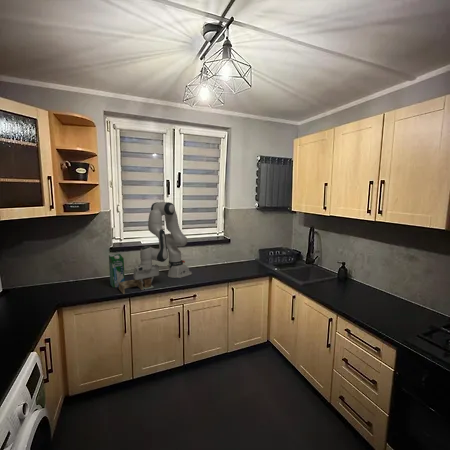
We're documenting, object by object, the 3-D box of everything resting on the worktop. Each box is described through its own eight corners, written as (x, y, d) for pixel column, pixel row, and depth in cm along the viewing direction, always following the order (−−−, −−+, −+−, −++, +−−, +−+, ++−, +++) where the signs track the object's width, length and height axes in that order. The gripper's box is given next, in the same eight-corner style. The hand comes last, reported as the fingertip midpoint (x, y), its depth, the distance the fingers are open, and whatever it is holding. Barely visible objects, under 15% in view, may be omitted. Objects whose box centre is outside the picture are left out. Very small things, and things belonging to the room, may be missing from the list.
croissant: (137, 285, 211) (137, 278, 210) (142, 289, 201) (142, 282, 201) (118, 289, 202) (118, 282, 201) (123, 293, 192) (123, 286, 192)
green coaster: (149, 284, 212) (149, 284, 212) (153, 287, 206) (153, 286, 206) (140, 286, 207) (140, 286, 207) (144, 289, 201) (144, 289, 201)
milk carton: (113, 287, 205) (111, 257, 202) (110, 284, 212) (108, 255, 209) (124, 285, 211) (123, 255, 208) (121, 282, 218) (120, 253, 215)
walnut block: (148, 285, 210) (148, 277, 209) (151, 286, 206) (151, 279, 205) (142, 286, 207) (142, 279, 206) (145, 288, 203) (144, 280, 202)
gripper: (157, 263, 213) (157, 279, 215) (132, 267, 201) (133, 284, 202) (160, 264, 208) (160, 281, 210) (135, 269, 196) (135, 286, 198)
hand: (146, 282), depth 206 cm, fingers open, 5 cm apart
